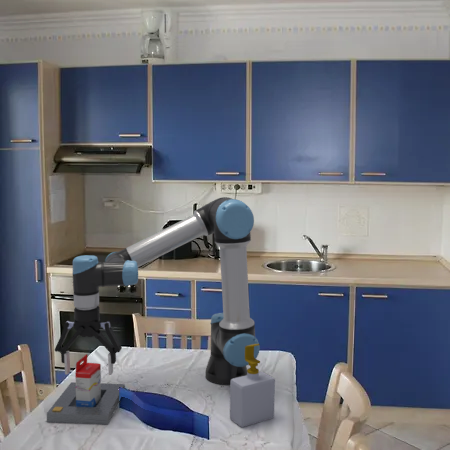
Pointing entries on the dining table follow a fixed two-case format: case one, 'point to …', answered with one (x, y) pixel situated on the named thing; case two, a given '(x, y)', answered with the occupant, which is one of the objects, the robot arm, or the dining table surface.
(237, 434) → the dining table surface
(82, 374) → the ink box
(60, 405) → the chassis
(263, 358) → the dining table surface
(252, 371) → the soap bottle
